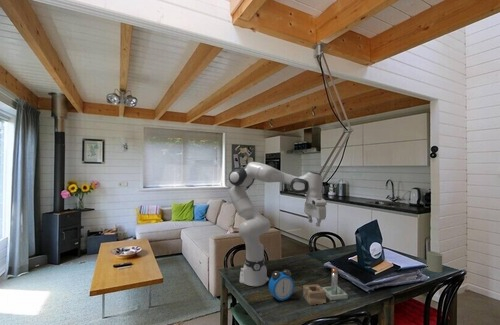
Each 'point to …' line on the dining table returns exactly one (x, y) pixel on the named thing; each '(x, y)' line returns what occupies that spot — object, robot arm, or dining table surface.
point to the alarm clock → (281, 285)
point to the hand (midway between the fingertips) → (314, 224)
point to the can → (434, 261)
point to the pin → (334, 281)
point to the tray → (339, 296)
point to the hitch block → (314, 294)
